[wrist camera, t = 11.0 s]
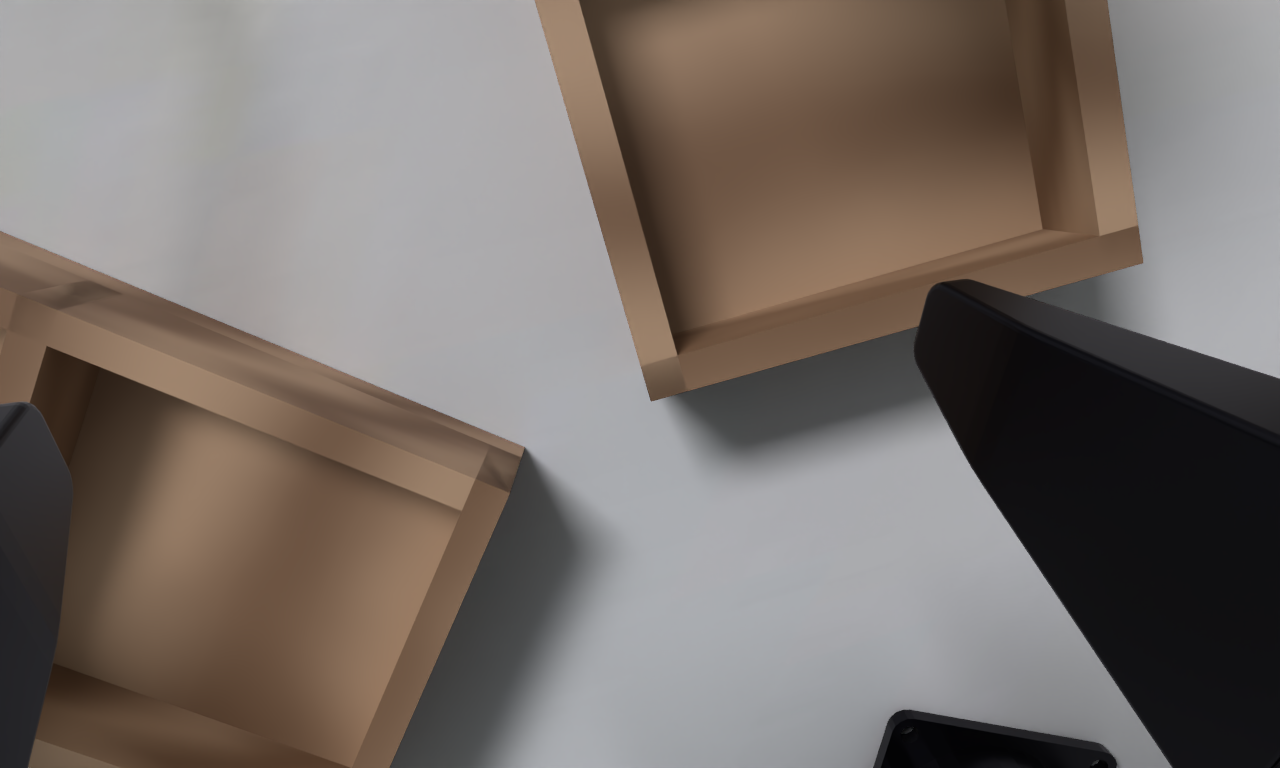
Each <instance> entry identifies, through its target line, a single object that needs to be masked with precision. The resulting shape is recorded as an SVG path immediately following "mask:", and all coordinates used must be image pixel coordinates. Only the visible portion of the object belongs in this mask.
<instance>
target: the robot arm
mask: <svg viewBox="0 0 1280 768" xmlns="http://www.w3.org/2000/svg"><path fill="white" fill-rule="evenodd" d="M914 357H915V361H916V364H917V366H918V368H919V370H920V372H921V374H922V376H923V378H924V380H925V382H926V383H927V385H928V387H929V389H930V391H931V393H932V395H933V397H934V399H935V401H936V402H937V404H938V406H939V408H940V410H941V412H942V414H943V416H944V418H945V420H946V421H947V423H948V425H949V427H950V429H951V431H952V433H953V435H954V437H955V439H956V440H957V442H958V444H959V446H960V448H961V450H962V452H963V453H964V455H965V457H966V459H967V461H968V462H969V464H970V466H971V468H972V469H973V471H974V472H975V474H976V476H977V477H978V479H979V480H980V482H981V483H982V485H983V486H984V488H985V489H986V491H987V492H988V494H989V495H990V497H991V498H992V500H993V501H994V503H995V504H996V506H997V507H998V509H999V510H1000V512H1001V513H1002V515H1003V516H1004V518H1005V519H1006V521H1007V522H1008V524H1009V525H1010V527H1011V528H1012V530H1013V531H1014V533H1015V534H1016V536H1017V537H1018V539H1019V540H1020V541H1021V543H1022V544H1023V546H1024V547H1025V549H1026V550H1027V552H1028V553H1029V555H1030V556H1031V558H1032V559H1033V561H1034V562H1035V564H1036V565H1037V567H1038V568H1039V570H1040V571H1041V573H1042V574H1043V576H1044V577H1045V579H1046V580H1047V582H1048V583H1049V585H1050V586H1051V588H1052V589H1053V591H1054V592H1055V594H1056V595H1057V597H1058V598H1059V600H1060V601H1061V603H1062V604H1063V606H1064V607H1065V608H1066V610H1067V611H1068V613H1069V614H1070V616H1071V617H1072V619H1073V620H1074V622H1075V623H1076V625H1077V626H1078V628H1079V629H1080V631H1081V632H1082V634H1083V635H1084V637H1085V638H1086V640H1087V641H1088V643H1089V644H1090V646H1091V647H1092V649H1093V650H1094V652H1095V653H1096V655H1097V656H1098V658H1099V659H1100V661H1101V662H1102V664H1103V665H1104V667H1105V668H1106V670H1107V671H1108V672H1109V674H1110V675H1111V677H1112V678H1113V680H1114V681H1115V683H1116V684H1117V686H1118V687H1119V689H1120V690H1121V692H1122V693H1123V695H1124V696H1125V698H1126V699H1127V701H1128V702H1129V704H1130V705H1131V707H1132V708H1133V710H1134V711H1135V713H1136V714H1137V716H1138V717H1139V719H1140V720H1141V722H1142V723H1143V725H1144V726H1145V728H1146V729H1147V731H1148V732H1149V734H1150V735H1151V737H1152V738H1153V739H1154V741H1155V742H1156V744H1157V745H1158V747H1159V748H1160V750H1161V751H1162V753H1163V754H1164V756H1165V757H1166V759H1167V760H1168V762H1169V763H1170V765H1171V766H1172V768H1280V379H1279V378H1276V377H1273V376H1270V375H1267V374H1263V373H1260V372H1257V371H1254V370H1251V369H1248V368H1245V367H1242V366H1239V365H1236V364H1232V363H1229V362H1226V361H1223V360H1220V359H1217V358H1214V357H1211V356H1208V355H1204V354H1201V353H1198V352H1195V351H1192V350H1189V349H1186V348H1183V347H1180V346H1177V345H1173V344H1170V343H1167V342H1164V341H1161V340H1158V339H1155V338H1152V337H1149V336H1145V335H1142V334H1139V333H1136V332H1133V331H1130V330H1127V329H1124V328H1121V327H1118V326H1114V325H1111V324H1108V323H1105V322H1102V321H1099V320H1096V319H1093V318H1090V317H1086V316H1083V315H1080V314H1077V313H1074V312H1071V311H1068V310H1065V309H1062V308H1059V307H1055V306H1052V305H1049V304H1046V303H1043V302H1040V301H1037V300H1034V299H1031V298H1027V297H1024V296H1021V295H1018V294H1015V293H1012V292H1009V291H1006V290H1003V289H1000V288H996V287H993V286H990V285H987V284H984V283H981V282H978V281H975V280H971V279H959V280H951V281H944V282H939V283H936V284H935V285H933V286H932V287H931V289H930V290H929V292H928V294H927V296H926V300H925V304H924V308H923V311H922V315H921V319H920V323H919V326H918V330H917V334H916V338H915V342H914ZM72 506H73V483H72V478H71V474H70V471H69V469H68V466H67V464H66V462H65V460H64V458H63V456H62V454H61V452H60V450H59V448H58V446H57V444H56V442H55V440H54V438H53V436H52V434H51V432H50V430H49V427H48V425H47V423H46V421H45V419H44V417H43V415H42V414H41V412H40V411H39V410H38V409H37V408H36V406H35V405H33V404H31V403H28V402H23V401H22V402H13V403H5V404H0V768H28V765H29V761H30V757H31V753H32V749H33V745H34V741H35V737H36V732H37V728H38V724H39V720H40V716H41V712H42V708H43V704H44V700H45V696H46V692H47V687H48V683H49V679H50V675H51V671H52V667H53V662H54V657H55V653H56V648H57V643H58V636H59V629H60V621H61V613H62V603H63V593H64V583H65V574H66V564H67V554H68V544H69V535H70V525H71V515H72ZM907 727H914V728H913V729H912V731H911V732H909V733H906V734H902V733H901V732H902V731H903V729H905V728H907ZM1096 760H1099V761H1098V763H1097V764H1095V765H1093V766H1091V764H1092V763H1093V762H1094V761H1096ZM1116 767H1117V763H1116V760H1115V758H1114V757H1113V756H1112V755H1111V753H1110V752H1109V751H1108V750H1107V749H1106V748H1105V747H1104V746H1103V745H1101V744H1099V743H1095V742H1089V741H1084V740H1078V739H1072V738H1067V737H1061V736H1055V735H1050V734H1044V733H1038V732H1033V731H1027V730H1021V729H1016V728H1010V727H1004V726H999V725H993V724H987V723H981V722H976V721H970V720H964V719H959V718H953V717H947V716H942V715H936V714H930V713H925V712H919V711H913V710H902V711H899V712H896V713H895V714H894V715H893V716H891V718H890V719H889V721H888V723H887V726H886V729H885V733H884V736H883V739H882V742H881V745H880V748H879V751H878V754H877V758H876V761H875V764H874V767H873V768H1116Z"/></svg>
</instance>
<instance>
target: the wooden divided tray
mask: <svg viewBox="0 0 1280 768" xmlns="http://www.w3.org/2000/svg"><path fill="white" fill-rule="evenodd" d="M535 3H536V6H537V10H538V13H539V17H540V20H541V24H542V27H543V30H544V34H545V37H546V41H547V44H548V48H549V51H550V55H551V58H552V62H553V65H554V68H555V72H556V75H557V79H558V82H559V86H560V89H561V93H562V96H563V100H564V103H565V106H566V110H567V113H568V117H569V120H570V124H571V127H572V131H573V134H574V138H575V141H576V144H577V148H578V151H579V155H580V158H581V162H582V165H583V169H584V172H585V176H586V179H587V182H588V186H589V189H590V193H591V196H592V200H593V203H594V207H595V210H596V214H597V217H598V220H599V224H600V227H601V231H602V234H603V238H604V241H605V245H606V248H607V252H608V255H609V258H610V262H611V265H612V269H613V272H614V276H615V279H616V283H617V286H618V290H619V293H620V296H621V300H622V303H623V307H624V310H625V314H626V317H627V321H628V324H629V328H630V331H631V334H632V338H633V341H634V345H635V348H636V352H637V355H638V359H639V362H640V366H641V369H642V372H643V376H644V379H645V383H646V386H647V390H648V393H649V397H650V400H651V401H655V400H658V399H662V398H665V397H669V396H672V395H676V394H680V393H683V392H687V391H690V390H694V389H697V388H701V387H704V386H708V385H712V384H715V383H719V382H722V381H726V380H729V379H733V378H736V377H740V376H743V375H747V374H751V373H754V372H758V371H761V370H765V369H768V368H772V367H775V366H779V365H783V364H786V363H790V362H793V361H797V360H800V359H804V358H807V357H811V356H815V355H818V354H822V353H825V352H829V351H832V350H836V349H839V348H843V347H847V346H850V345H854V344H857V343H861V342H864V341H868V340H871V339H875V338H879V337H882V336H886V335H889V334H893V333H896V332H900V331H903V330H907V329H910V328H914V327H918V326H919V323H920V319H921V315H922V311H923V308H924V304H925V300H926V296H927V294H928V292H929V290H930V289H931V287H932V286H933V285H935V284H936V283H939V282H944V281H951V280H959V279H971V280H975V281H978V282H981V283H984V284H987V285H990V286H993V287H996V288H1000V289H1003V290H1006V291H1009V292H1012V293H1015V294H1018V295H1021V296H1028V295H1031V294H1035V293H1038V292H1042V291H1046V290H1049V289H1053V288H1056V287H1060V286H1063V285H1067V284H1070V283H1074V282H1077V281H1081V280H1085V279H1088V278H1092V277H1095V276H1099V275H1102V274H1106V273H1109V272H1113V271H1117V270H1120V269H1124V268H1127V267H1131V266H1134V265H1138V264H1141V263H1143V257H1142V250H1141V243H1140V235H1139V228H1138V221H1137V213H1136V206H1135V199H1134V192H1133V184H1132V177H1131V170H1130V163H1129V155H1128V148H1127V141H1126V133H1125V126H1124V119H1123V112H1122V104H1121V97H1120V90H1119V83H1118V75H1117V68H1116V61H1115V54H1114V46H1113V39H1112V32H1111V24H1110V17H1109V10H1108V3H1107V0H535Z"/></svg>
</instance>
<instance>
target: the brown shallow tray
mask: <svg viewBox="0 0 1280 768" xmlns="http://www.w3.org/2000/svg"><path fill="white" fill-rule="evenodd" d="M22 401H23V402H28V403H31V404H33V405H35V406H36V408H37V409H38V410H39V411H40V412H41V414H42V415H43V417H44V419H45V421H46V423H47V425H48V427H49V430H50V432H51V434H52V436H53V438H54V440H55V442H56V444H57V446H58V448H59V450H60V452H61V454H62V456H63V458H64V460H65V462H66V464H67V466H68V469H69V471H70V474H71V478H72V483H73V506H72V515H71V525H70V535H69V544H68V554H67V564H66V574H65V583H64V593H63V603H62V613H61V621H60V629H59V636H58V643H57V648H56V653H55V657H54V662H53V667H52V671H51V675H50V679H49V683H48V687H47V692H46V696H45V700H44V704H43V708H42V712H41V716H40V720H39V724H38V728H37V732H36V737H35V741H34V745H33V749H32V753H31V757H30V761H29V765H28V767H29V768H390V765H391V763H392V761H393V758H394V756H395V754H396V752H397V749H398V747H399V745H400V743H401V740H402V738H403V736H404V733H405V731H406V729H407V727H408V724H409V722H410V720H411V717H412V715H413V713H414V711H415V708H416V706H417V704H418V702H419V699H420V697H421V695H422V692H423V690H424V688H425V686H426V683H427V681H428V679H429V677H430V674H431V672H432V670H433V667H434V665H435V663H436V661H437V658H438V656H439V654H440V651H441V649H442V647H443V645H444V642H445V640H446V638H447V636H448V633H449V631H450V629H451V626H452V624H453V622H454V620H455V617H456V615H457V613H458V611H459V608H460V606H461V604H462V601H463V599H464V597H465V595H466V592H467V590H468V588H469V585H470V583H471V581H472V579H473V576H474V574H475V572H476V570H477V567H478V565H479V563H480V560H481V558H482V556H483V554H484V551H485V549H486V547H487V544H488V542H489V540H490V538H491V535H492V533H493V531H494V529H495V526H496V524H497V522H498V519H499V517H500V515H501V513H502V510H503V508H504V506H505V504H506V501H507V499H508V497H509V494H510V492H511V489H512V486H513V482H514V479H515V476H516V473H517V470H518V467H519V464H520V461H521V458H522V454H523V451H524V448H525V447H523V446H520V445H518V444H515V443H513V442H511V441H508V440H506V439H503V438H501V437H498V436H496V435H494V434H491V433H489V432H486V431H484V430H481V429H479V428H477V427H474V426H472V425H469V424H467V423H464V422H462V421H460V420H457V419H455V418H452V417H450V416H447V415H445V414H443V413H440V412H438V411H435V410H433V409H430V408H428V407H426V406H423V405H421V404H418V403H416V402H413V401H411V400H409V399H406V398H404V397H401V396H399V395H396V394H394V393H392V392H389V391H387V390H384V389H382V388H380V387H377V386H375V385H372V384H370V383H367V382H365V381H363V380H360V379H358V378H355V377H353V376H350V375H348V374H346V373H343V372H341V371H338V370H336V369H333V368H331V367H329V366H326V365H324V364H321V363H319V362H316V361H314V360H312V359H309V358H307V357H304V356H302V355H299V354H297V353H295V352H292V351H290V350H287V349H285V348H282V347H280V346H278V345H275V344H273V343H270V342H268V341H265V340H263V339H261V338H258V337H256V336H253V335H251V334H248V333H246V332H244V331H241V330H239V329H236V328H234V327H231V326H229V325H227V324H224V323H222V322H219V321H217V320H214V319H212V318H210V317H207V316H205V315H202V314H200V313H197V312H195V311H193V310H190V309H188V308H185V307H183V306H180V305H178V304H176V303H173V302H171V301H168V300H166V299H163V298H161V297H159V296H156V295H154V294H151V293H149V292H146V291H144V290H142V289H139V288H137V287H134V286H132V285H129V284H127V283H125V282H122V281H120V280H117V279H115V278H113V277H110V276H108V275H105V274H103V273H100V272H98V271H96V270H93V269H91V268H88V267H86V266H83V265H81V264H79V263H76V262H74V261H71V260H69V259H66V258H64V257H62V256H59V255H57V254H54V253H52V252H49V251H47V250H45V249H42V248H40V247H37V246H35V245H32V244H30V243H28V242H25V241H23V240H20V239H18V238H15V237H13V236H11V235H8V234H6V233H3V232H1V231H0V404H5V403H13V402H22Z"/></svg>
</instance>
